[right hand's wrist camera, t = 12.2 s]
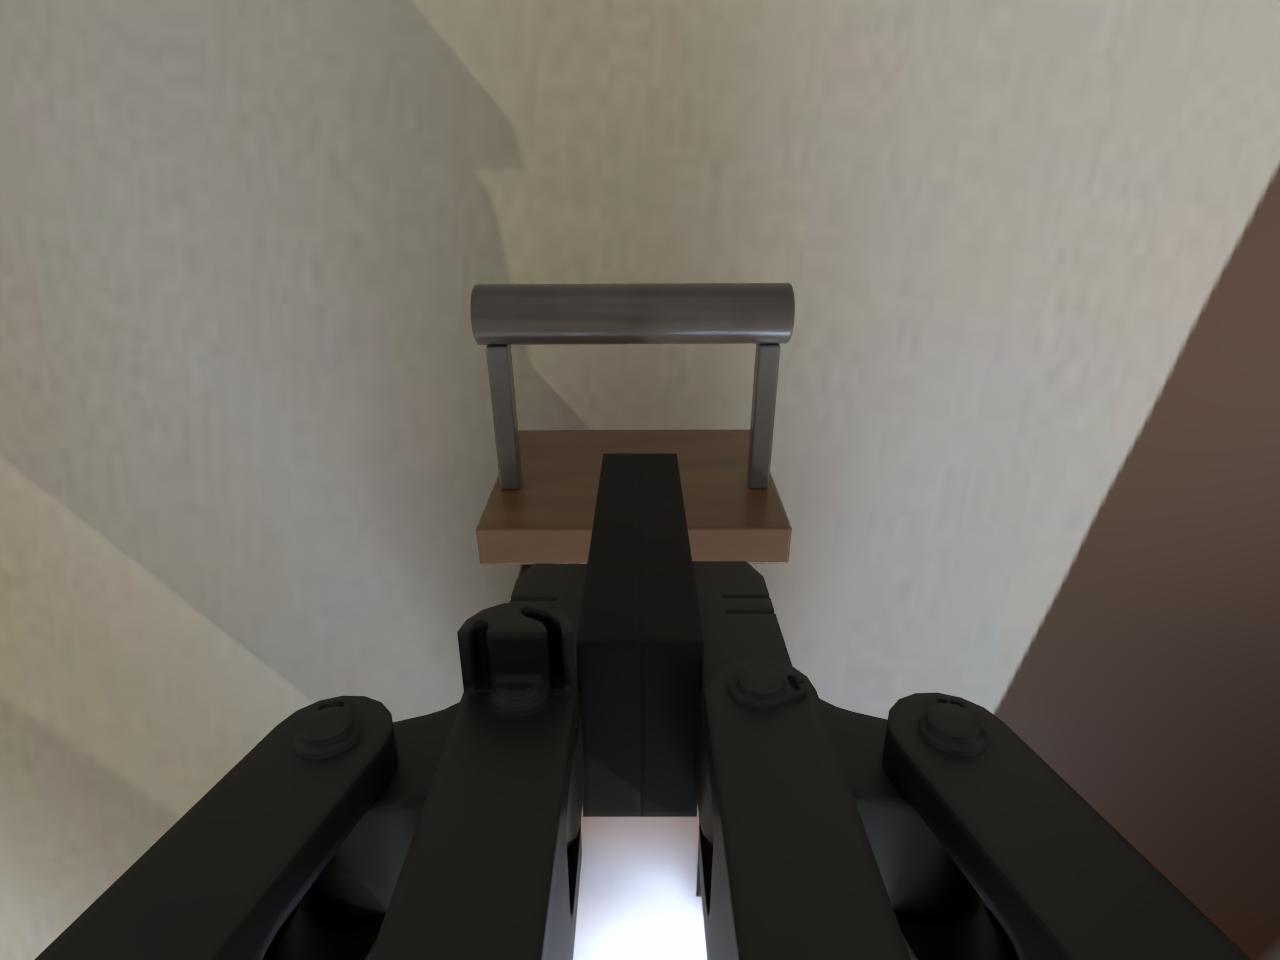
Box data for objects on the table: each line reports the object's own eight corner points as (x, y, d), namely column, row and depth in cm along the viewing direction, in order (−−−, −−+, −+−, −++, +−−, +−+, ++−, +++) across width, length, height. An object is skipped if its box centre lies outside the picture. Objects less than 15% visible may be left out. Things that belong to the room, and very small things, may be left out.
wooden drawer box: (523, 617, 31) (481, 791, 23) (751, 617, 31) (790, 790, 23) (550, 889, 39) (526, 1087, 31) (729, 889, 39) (752, 1088, 31)
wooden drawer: (501, 258, 23) (446, 306, 17) (767, 256, 23) (816, 304, 17) (547, 769, 34) (524, 921, 27) (730, 769, 34) (751, 920, 27)
